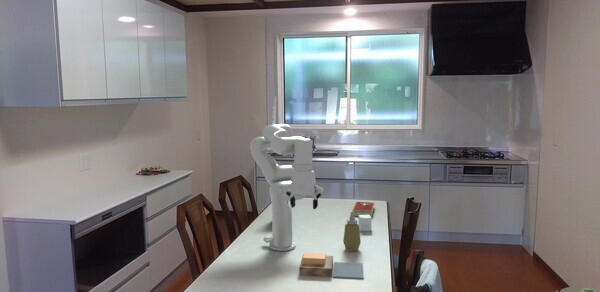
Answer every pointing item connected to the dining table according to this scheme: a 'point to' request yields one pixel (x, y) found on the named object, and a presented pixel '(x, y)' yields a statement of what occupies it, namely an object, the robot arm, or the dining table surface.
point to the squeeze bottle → (352, 234)
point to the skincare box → (365, 222)
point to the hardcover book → (363, 208)
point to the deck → (317, 268)
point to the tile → (314, 258)
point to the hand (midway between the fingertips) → (304, 207)
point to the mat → (348, 270)
